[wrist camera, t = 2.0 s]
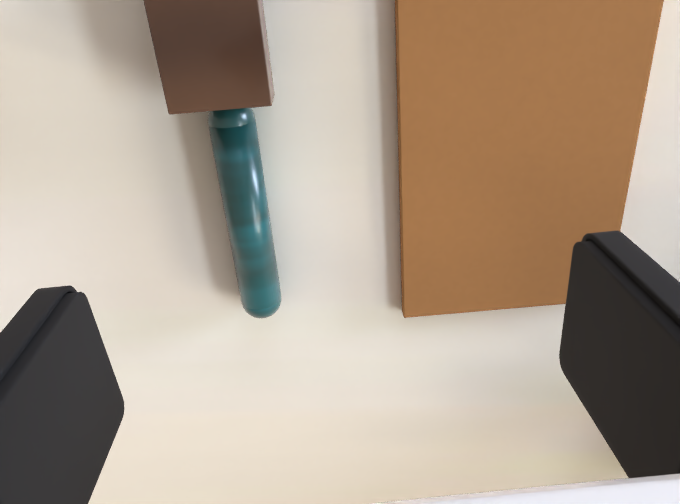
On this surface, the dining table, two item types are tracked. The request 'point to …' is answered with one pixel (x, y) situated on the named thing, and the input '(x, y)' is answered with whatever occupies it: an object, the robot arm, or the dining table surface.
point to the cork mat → (513, 142)
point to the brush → (226, 118)
